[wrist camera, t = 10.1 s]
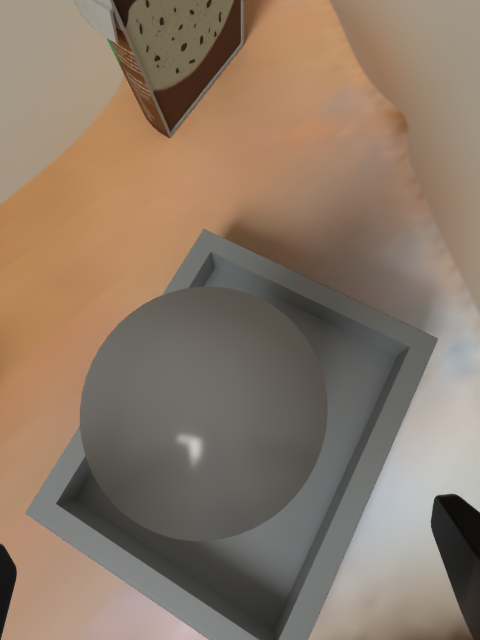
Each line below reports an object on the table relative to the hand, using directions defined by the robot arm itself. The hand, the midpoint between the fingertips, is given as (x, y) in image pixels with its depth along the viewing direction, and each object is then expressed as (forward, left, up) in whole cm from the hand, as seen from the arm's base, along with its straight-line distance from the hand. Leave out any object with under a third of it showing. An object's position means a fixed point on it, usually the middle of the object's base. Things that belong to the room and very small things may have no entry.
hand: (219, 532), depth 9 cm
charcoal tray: (+2, +2, -13) cm, 14 cm away
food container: (+21, +18, -13) cm, 31 cm away
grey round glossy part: (+2, +1, -12) cm, 13 cm away
